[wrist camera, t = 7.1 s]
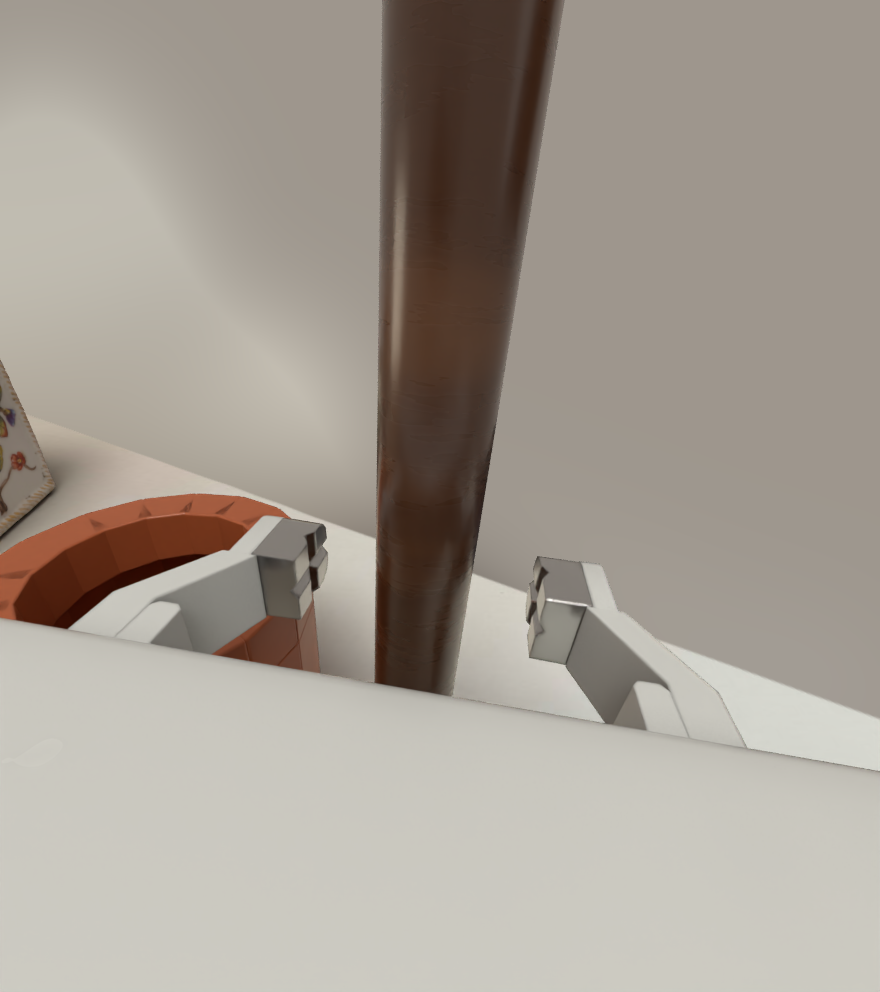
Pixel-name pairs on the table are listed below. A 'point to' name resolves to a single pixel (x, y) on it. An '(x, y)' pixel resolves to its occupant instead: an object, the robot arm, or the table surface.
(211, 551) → the terracotta plant pot
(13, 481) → the decorative jar
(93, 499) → the table surface
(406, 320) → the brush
